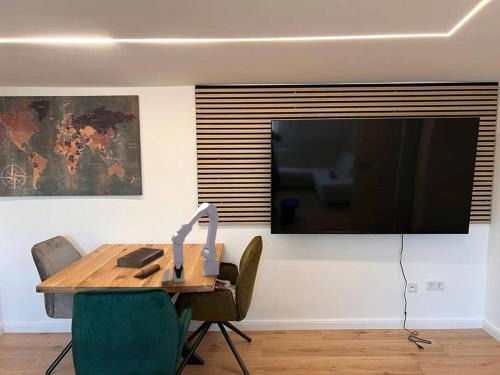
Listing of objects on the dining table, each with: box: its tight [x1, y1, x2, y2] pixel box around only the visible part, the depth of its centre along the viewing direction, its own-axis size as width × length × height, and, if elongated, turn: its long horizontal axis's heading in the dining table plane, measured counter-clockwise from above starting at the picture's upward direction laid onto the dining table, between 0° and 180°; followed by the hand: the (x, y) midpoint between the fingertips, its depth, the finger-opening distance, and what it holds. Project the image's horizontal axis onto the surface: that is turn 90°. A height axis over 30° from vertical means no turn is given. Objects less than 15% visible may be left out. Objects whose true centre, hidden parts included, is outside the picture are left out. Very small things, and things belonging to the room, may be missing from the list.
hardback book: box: [116, 247, 165, 268], centre depth 217 cm, size 29×19×5 cm, turn 167°
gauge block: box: [172, 265, 185, 283], centre depth 178 cm, size 6×5×7 cm
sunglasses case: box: [132, 263, 162, 279], centre depth 190 cm, size 18×7×7 cm, turn 164°
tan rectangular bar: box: [160, 268, 174, 287], centre depth 181 cm, size 6×20×3 cm, turn 12°
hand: (178, 276), depth 179 cm, fingers closed on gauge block, 5 cm apart
